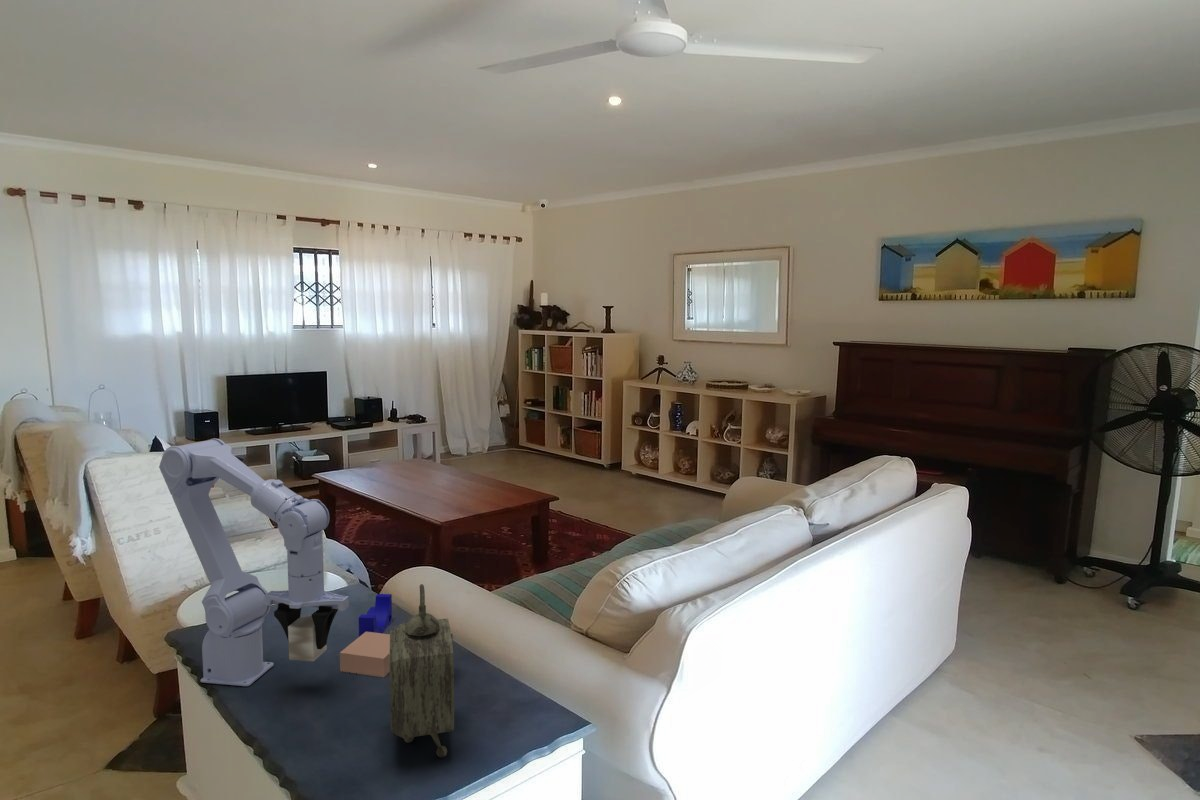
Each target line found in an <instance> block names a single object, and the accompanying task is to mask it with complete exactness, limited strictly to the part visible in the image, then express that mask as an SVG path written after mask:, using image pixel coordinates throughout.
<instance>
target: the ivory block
mask: <svg viewBox="0 0 1200 800" xmlns="http://www.w3.org/2000/svg"><path fill="white" fill-rule="evenodd" d="M288 640H289V642H288V660H290V661H302V662H303V661H304V662H315V661H316V660H317V659H318V658H319V657H320V656H322V654H323V653H324V652H326V651H327V649H328V643H327V644H326V645H325V646H324V647H323V648H322V649H317V646H316V631H315V626H314V622H313V619H312V615H300V618H298V619H297V620H296V621H295V622H293V623H292V624H291V625H289V626H288V639H287V641H288Z"/></svg>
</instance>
